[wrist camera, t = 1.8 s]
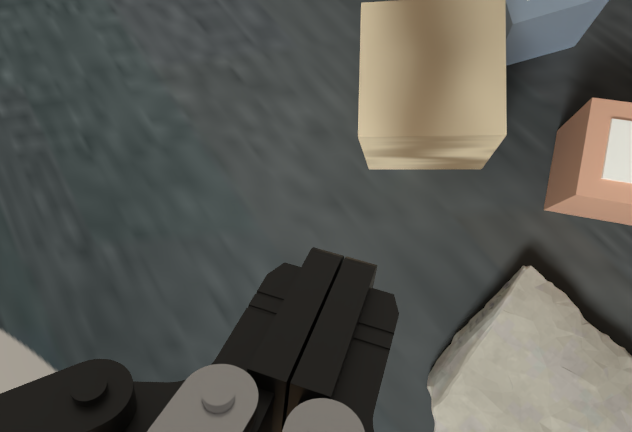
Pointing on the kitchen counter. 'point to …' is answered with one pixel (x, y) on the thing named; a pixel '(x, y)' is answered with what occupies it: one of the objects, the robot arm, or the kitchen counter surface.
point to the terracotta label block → (594, 163)
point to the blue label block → (546, 26)
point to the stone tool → (531, 368)
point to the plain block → (432, 83)
